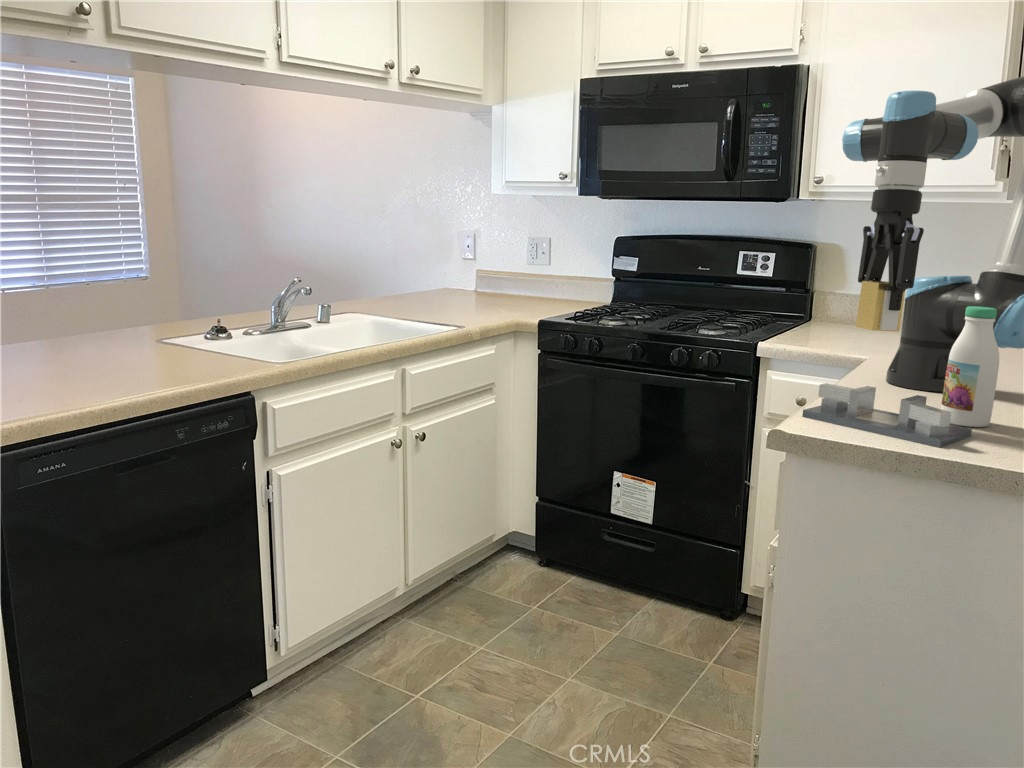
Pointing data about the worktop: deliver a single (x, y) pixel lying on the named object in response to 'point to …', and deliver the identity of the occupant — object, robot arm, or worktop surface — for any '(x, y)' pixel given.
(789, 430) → the worktop surface
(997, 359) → the milk bottle
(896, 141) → the robot arm
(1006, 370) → the worktop surface
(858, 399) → the grey fixture board
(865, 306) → the yellow block
